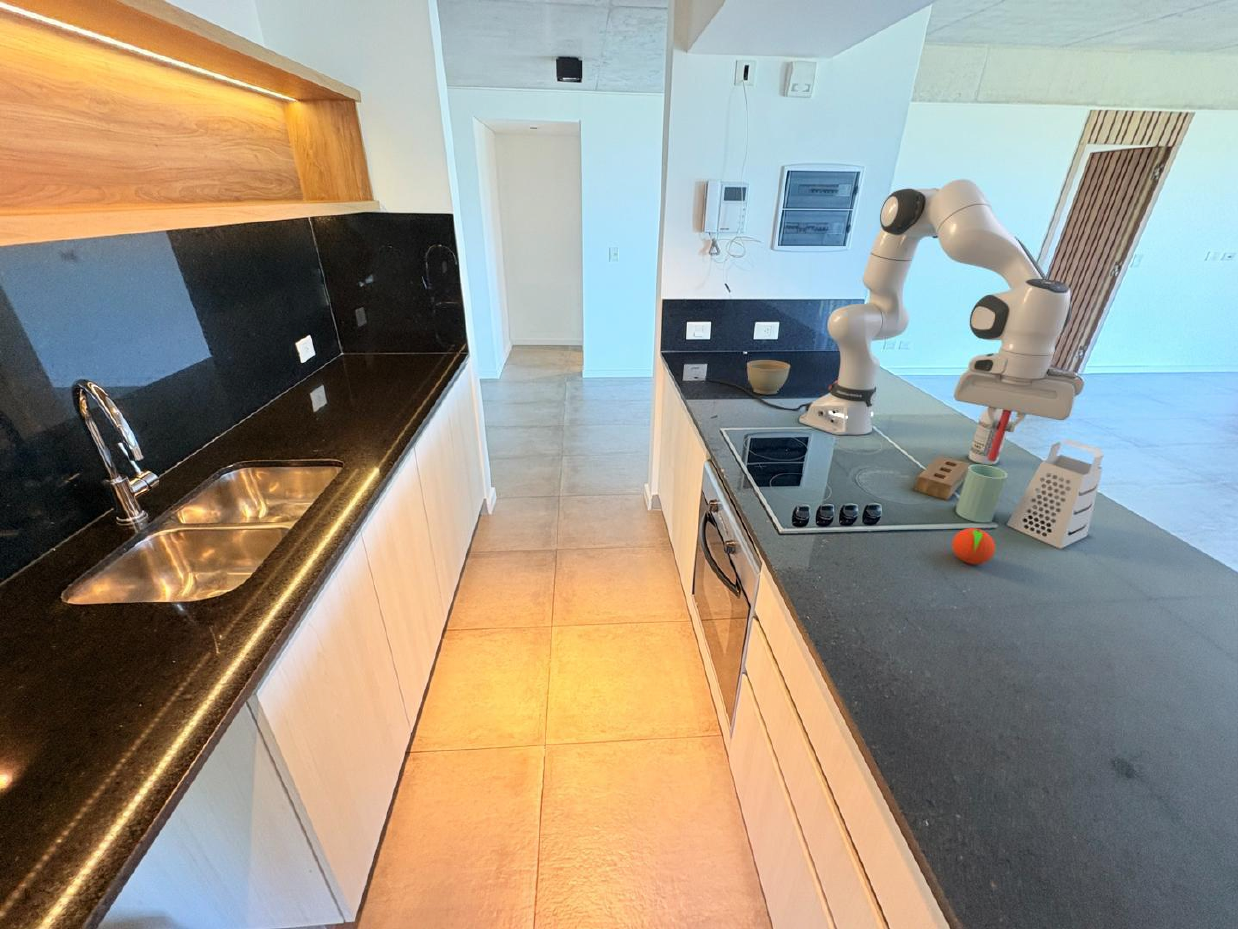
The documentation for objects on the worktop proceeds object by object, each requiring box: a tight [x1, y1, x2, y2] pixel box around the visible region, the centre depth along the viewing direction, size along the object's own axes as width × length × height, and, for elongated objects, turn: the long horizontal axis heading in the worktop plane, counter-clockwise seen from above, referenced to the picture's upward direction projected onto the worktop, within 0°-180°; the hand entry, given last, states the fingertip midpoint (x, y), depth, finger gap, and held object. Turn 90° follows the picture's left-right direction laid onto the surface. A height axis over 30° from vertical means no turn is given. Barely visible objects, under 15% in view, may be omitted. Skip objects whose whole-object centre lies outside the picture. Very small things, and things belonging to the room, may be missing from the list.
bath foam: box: [968, 407, 1012, 466], centre depth 144 cm, size 7×7×20 cm
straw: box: [988, 410, 1013, 461], centre depth 112 cm, size 2×2×14 cm
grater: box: [1006, 438, 1105, 549], centre depth 110 cm, size 10×10×20 cm
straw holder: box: [914, 455, 972, 501], centre depth 134 cm, size 7×17×4 cm, turn 136°
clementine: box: [951, 527, 996, 565], centre depth 102 cm, size 8×7×7 cm
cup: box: [955, 463, 1009, 524], centre depth 118 cm, size 7×7×11 cm
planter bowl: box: [746, 359, 791, 395], centre depth 206 cm, size 16×16×11 cm
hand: (1001, 429), depth 112 cm, fingers closed on straw, 1 cm apart
